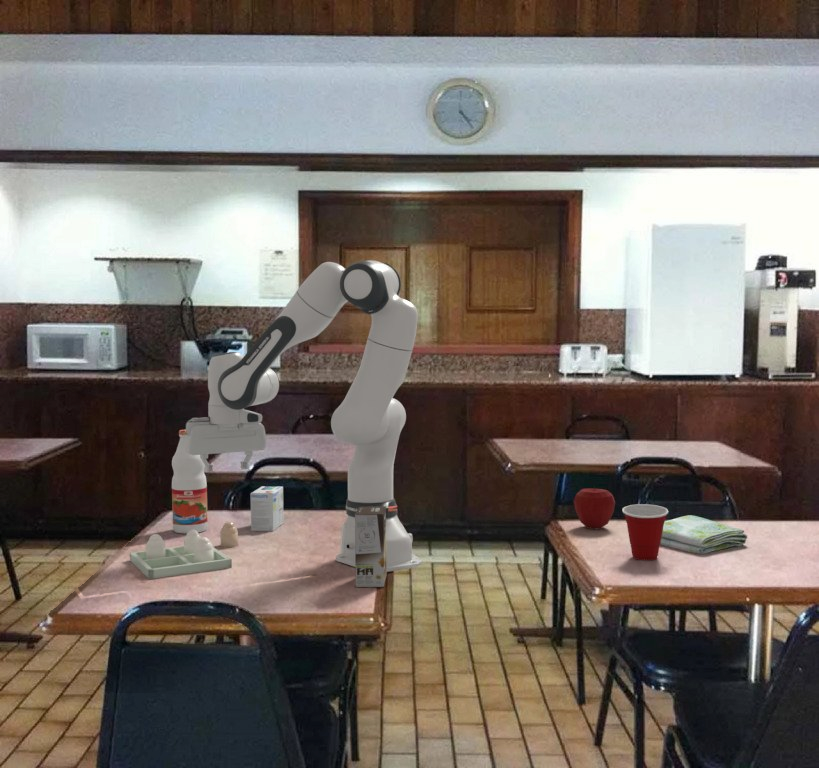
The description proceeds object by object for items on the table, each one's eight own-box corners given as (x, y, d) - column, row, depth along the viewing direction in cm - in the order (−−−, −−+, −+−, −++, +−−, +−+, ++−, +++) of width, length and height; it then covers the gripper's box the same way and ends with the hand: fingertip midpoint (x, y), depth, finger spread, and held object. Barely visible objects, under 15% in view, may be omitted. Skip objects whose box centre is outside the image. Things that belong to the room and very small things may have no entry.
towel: (701, 557, 229) (702, 536, 228) (636, 540, 247) (637, 521, 246) (750, 546, 238) (750, 526, 238) (684, 531, 256) (684, 512, 256)
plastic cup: (618, 561, 223) (619, 511, 223) (624, 550, 234) (625, 503, 233) (666, 565, 220) (666, 514, 219) (669, 554, 230) (670, 505, 229)
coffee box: (384, 587, 203) (383, 514, 202) (355, 587, 203) (354, 514, 202) (387, 576, 212) (386, 505, 211) (358, 576, 213) (357, 505, 212)
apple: (621, 527, 260) (621, 485, 260) (602, 533, 252) (602, 490, 252) (586, 521, 268) (587, 481, 267) (566, 528, 260) (566, 486, 259)
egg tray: (231, 569, 219) (231, 559, 219) (149, 581, 210) (149, 570, 210) (207, 552, 235) (207, 542, 235) (130, 562, 226) (129, 552, 226)
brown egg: (240, 548, 240) (240, 522, 240) (223, 550, 238) (223, 524, 237) (235, 544, 244) (234, 519, 243) (218, 547, 242) (217, 521, 241)
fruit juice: (210, 526, 266) (207, 427, 264) (205, 533, 257) (202, 431, 255) (176, 527, 266) (173, 428, 264) (170, 534, 256) (167, 432, 254)
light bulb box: (261, 522, 270) (260, 485, 270) (284, 523, 270) (283, 486, 269) (250, 531, 260) (249, 492, 259) (273, 531, 259) (273, 492, 258)
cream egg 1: (167, 562, 223) (167, 535, 223) (149, 565, 221) (148, 537, 221) (163, 558, 227) (162, 531, 227) (144, 561, 225) (143, 533, 225)
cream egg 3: (216, 566, 220) (215, 537, 220) (197, 568, 218) (197, 540, 217) (210, 562, 224) (210, 534, 223) (192, 564, 222) (191, 536, 221)
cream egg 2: (204, 558, 228) (204, 530, 227) (186, 560, 226) (186, 532, 225) (199, 554, 232) (199, 527, 231) (181, 556, 230) (181, 529, 229)
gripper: (189, 419, 231) (190, 475, 232) (268, 415, 241) (268, 468, 242) (182, 416, 236) (182, 471, 237) (259, 413, 246) (259, 465, 247)
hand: (226, 470), depth 240 cm, fingers open, 8 cm apart
